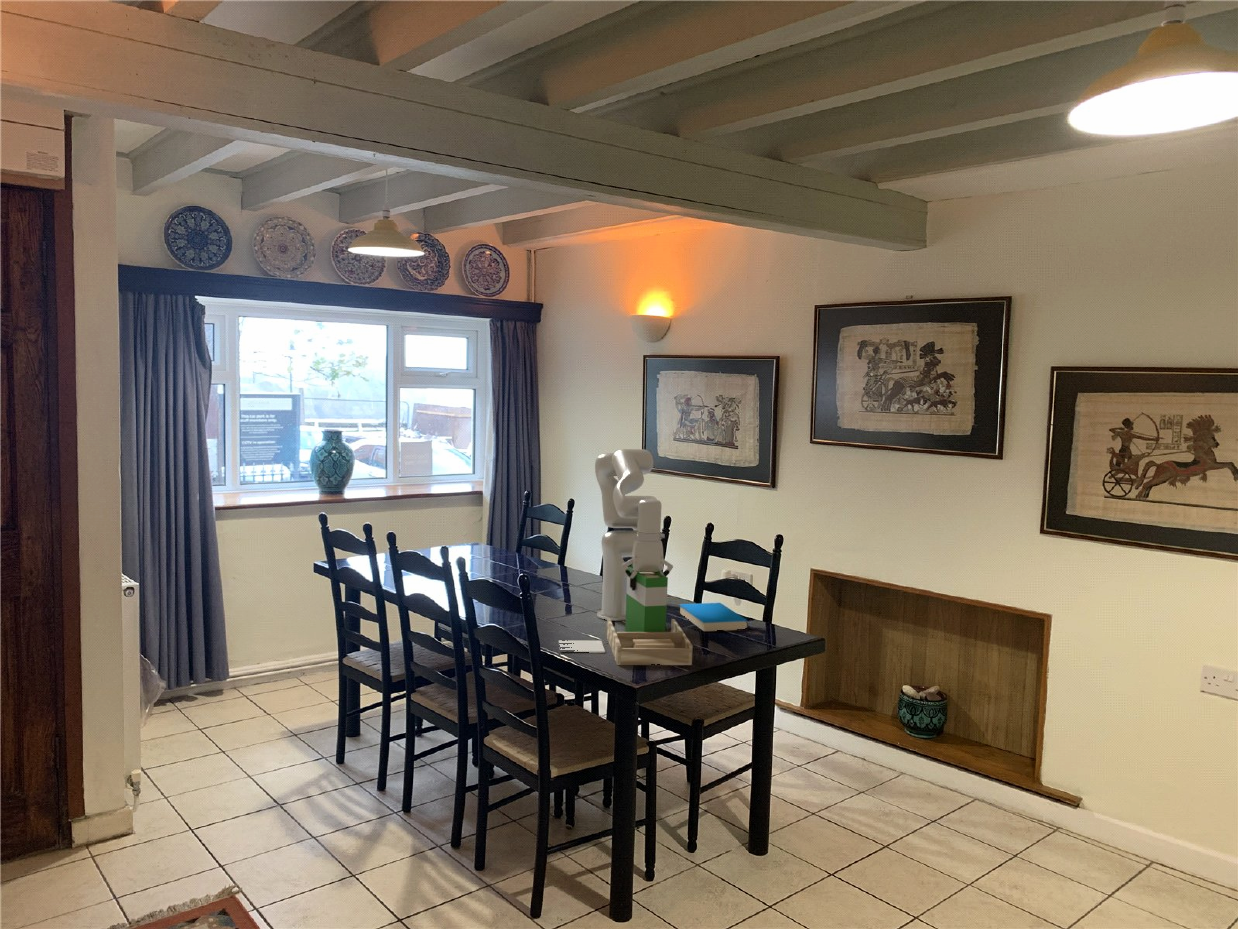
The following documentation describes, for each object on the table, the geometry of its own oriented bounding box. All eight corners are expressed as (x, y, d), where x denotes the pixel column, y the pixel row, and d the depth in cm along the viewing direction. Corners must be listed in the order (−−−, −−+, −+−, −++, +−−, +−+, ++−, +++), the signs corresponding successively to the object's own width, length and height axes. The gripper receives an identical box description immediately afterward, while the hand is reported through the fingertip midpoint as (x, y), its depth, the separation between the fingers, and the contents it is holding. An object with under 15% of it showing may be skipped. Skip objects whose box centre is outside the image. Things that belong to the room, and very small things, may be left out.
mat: (558, 641, 296) (558, 640, 296) (601, 642, 297) (601, 640, 297) (560, 653, 284) (560, 651, 284) (604, 653, 285) (604, 651, 285)
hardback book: (624, 637, 304) (627, 567, 302) (645, 636, 306) (648, 566, 304) (643, 652, 287) (646, 578, 285) (664, 651, 290) (667, 577, 288)
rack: (606, 636, 304) (607, 615, 304) (673, 636, 307) (674, 616, 307) (617, 665, 274) (618, 642, 273) (691, 665, 277) (692, 642, 276)
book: (703, 621, 315) (678, 603, 338) (703, 633, 315) (678, 614, 339) (748, 619, 319) (721, 601, 343) (748, 631, 320) (720, 612, 344)
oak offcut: (632, 648, 283) (632, 639, 282) (669, 648, 285) (670, 639, 284) (635, 654, 277) (636, 645, 277) (674, 654, 279) (674, 644, 278)
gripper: (672, 535, 298) (670, 587, 300) (620, 534, 296) (618, 587, 298) (677, 539, 291) (674, 592, 293) (623, 538, 289) (621, 592, 290)
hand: (646, 589), depth 295 cm, fingers closed on hardback book, 8 cm apart
